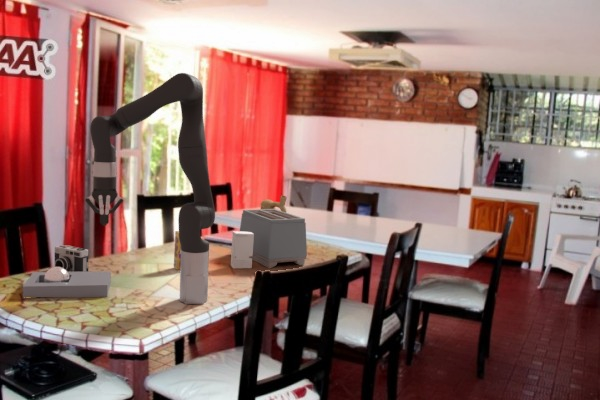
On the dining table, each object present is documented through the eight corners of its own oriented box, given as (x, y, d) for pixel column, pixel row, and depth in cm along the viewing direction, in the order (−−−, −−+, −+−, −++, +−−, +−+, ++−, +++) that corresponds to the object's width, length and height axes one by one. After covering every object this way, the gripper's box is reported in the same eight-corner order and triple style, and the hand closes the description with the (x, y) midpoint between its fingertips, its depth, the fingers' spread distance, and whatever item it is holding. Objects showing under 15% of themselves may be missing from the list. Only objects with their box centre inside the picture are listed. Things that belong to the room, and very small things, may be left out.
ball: (69, 272, 196) (44, 268, 194) (65, 294, 196) (39, 291, 194) (73, 266, 203) (48, 262, 201) (68, 288, 204) (44, 284, 202)
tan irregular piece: (273, 237, 310) (275, 191, 307) (296, 244, 295) (299, 195, 292) (246, 240, 299) (249, 192, 296) (269, 247, 284) (272, 197, 281)
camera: (45, 271, 221) (46, 245, 220) (65, 268, 229) (67, 242, 228) (68, 278, 214) (69, 251, 213) (89, 274, 222) (90, 248, 221)
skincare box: (232, 269, 240) (234, 233, 238) (230, 265, 246) (231, 230, 244) (252, 268, 243) (254, 233, 241) (249, 265, 248) (251, 230, 246)
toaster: (269, 248, 283) (271, 207, 280) (306, 265, 254) (309, 219, 251) (233, 251, 273) (235, 208, 271) (267, 269, 244) (270, 220, 241)
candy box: (177, 270, 233) (178, 232, 231) (173, 267, 237) (174, 230, 235) (198, 268, 238) (199, 231, 236) (193, 265, 242) (195, 229, 240)
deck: (107, 296, 195) (107, 285, 194) (22, 298, 188) (22, 286, 188) (110, 281, 212) (110, 271, 212) (33, 283, 206) (33, 272, 205)
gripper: (83, 175, 194) (83, 226, 196) (124, 176, 198) (124, 227, 200) (85, 173, 201) (85, 223, 203) (125, 174, 205) (124, 223, 207)
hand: (104, 224), depth 202 cm, fingers closed
